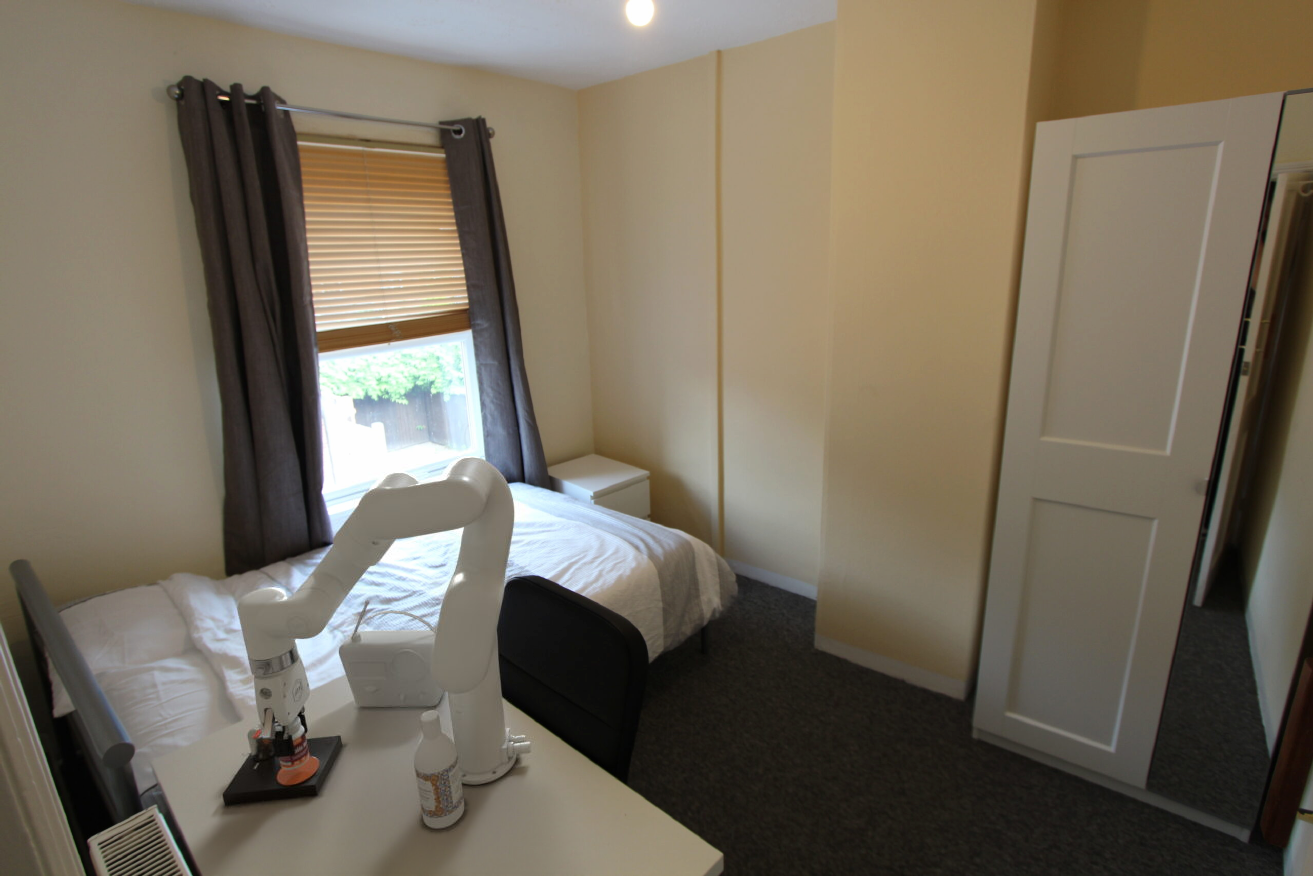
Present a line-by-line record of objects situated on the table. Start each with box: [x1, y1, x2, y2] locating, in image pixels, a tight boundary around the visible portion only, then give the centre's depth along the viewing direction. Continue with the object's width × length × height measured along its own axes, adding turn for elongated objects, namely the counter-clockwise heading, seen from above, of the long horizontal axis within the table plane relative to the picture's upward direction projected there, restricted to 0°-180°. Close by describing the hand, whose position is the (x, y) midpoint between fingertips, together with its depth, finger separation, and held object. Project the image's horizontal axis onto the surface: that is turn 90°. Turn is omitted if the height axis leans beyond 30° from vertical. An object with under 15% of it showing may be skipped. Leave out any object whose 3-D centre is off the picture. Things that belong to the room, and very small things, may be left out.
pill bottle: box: [276, 716, 309, 770], centre depth 121 cm, size 5×5×8 cm
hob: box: [221, 735, 343, 807], centre depth 126 cm, size 17×14×3 cm
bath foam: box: [413, 709, 465, 830], centre depth 112 cm, size 7×7×20 cm
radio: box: [338, 599, 446, 708], centre depth 142 cm, size 22×8×25 cm, turn 88°
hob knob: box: [246, 723, 275, 761], centre depth 127 cm, size 4×4×5 cm
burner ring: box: [277, 756, 319, 785], centre depth 123 cm, size 7×7×1 cm
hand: (292, 743), depth 121 cm, fingers closed on pill bottle, 4 cm apart
